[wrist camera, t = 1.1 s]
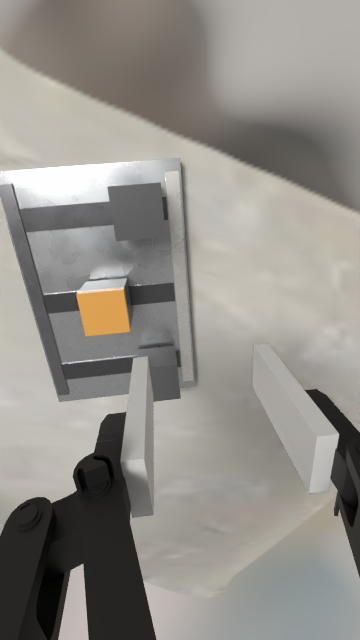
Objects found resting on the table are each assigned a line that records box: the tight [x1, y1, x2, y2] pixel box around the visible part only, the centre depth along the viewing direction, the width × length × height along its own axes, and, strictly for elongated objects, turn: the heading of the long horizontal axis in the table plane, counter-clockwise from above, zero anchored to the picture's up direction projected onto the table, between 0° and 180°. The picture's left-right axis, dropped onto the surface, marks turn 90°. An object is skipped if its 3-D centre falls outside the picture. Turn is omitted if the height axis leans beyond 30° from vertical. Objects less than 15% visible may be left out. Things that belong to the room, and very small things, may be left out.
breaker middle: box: [76, 278, 133, 336], centre depth 27 cm, size 4×4×4 cm
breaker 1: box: [107, 182, 166, 241], centre depth 24 cm, size 4×4×4 cm
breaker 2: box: [137, 346, 180, 402], centre depth 31 cm, size 4×4×4 cm
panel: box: [0, 158, 195, 402], centre depth 30 cm, size 16×24×2 cm, turn 4°
